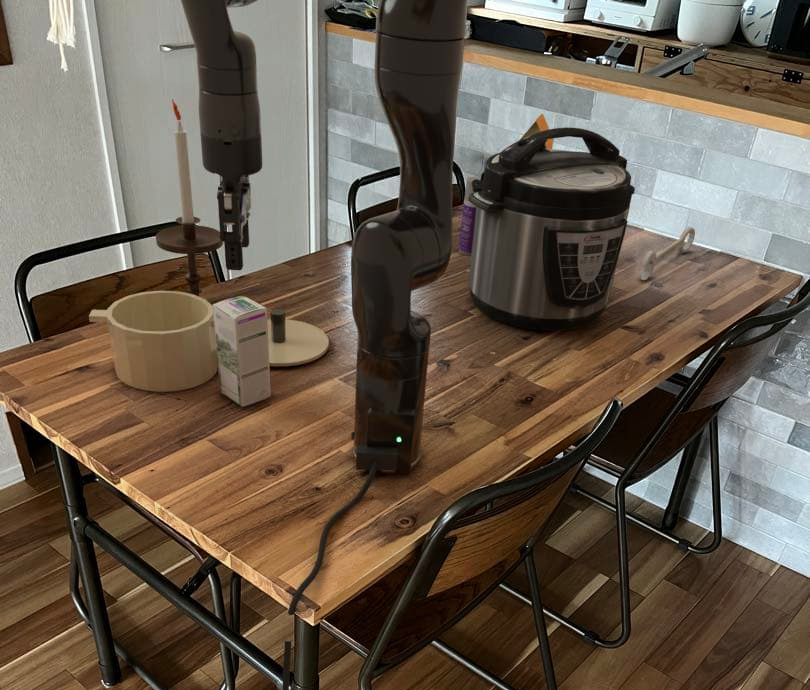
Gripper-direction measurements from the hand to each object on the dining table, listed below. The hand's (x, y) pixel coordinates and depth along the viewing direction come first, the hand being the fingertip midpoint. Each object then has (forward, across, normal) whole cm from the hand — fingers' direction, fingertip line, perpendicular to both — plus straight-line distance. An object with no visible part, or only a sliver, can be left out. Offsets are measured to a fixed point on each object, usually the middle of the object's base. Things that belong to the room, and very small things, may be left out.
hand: (238, 257), depth 115 cm
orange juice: (+21, -105, +61) cm, 123 cm away
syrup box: (+22, 0, 0) cm, 22 cm away
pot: (+21, -8, -13) cm, 26 cm away
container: (+21, -67, +42) cm, 82 cm away
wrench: (+21, -64, +85) cm, 108 cm away
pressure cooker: (+21, -38, +52) cm, 68 cm away
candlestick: (+21, -27, -11) cm, 36 cm away
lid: (+21, -17, +4) cm, 27 cm away
